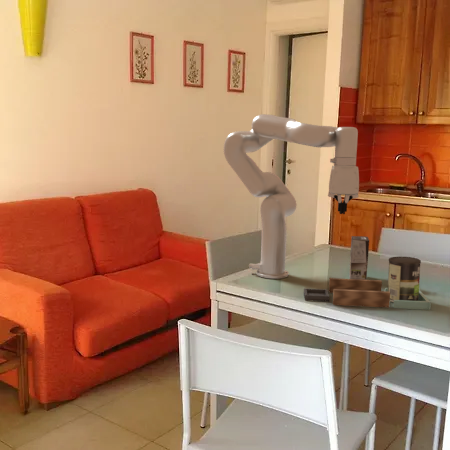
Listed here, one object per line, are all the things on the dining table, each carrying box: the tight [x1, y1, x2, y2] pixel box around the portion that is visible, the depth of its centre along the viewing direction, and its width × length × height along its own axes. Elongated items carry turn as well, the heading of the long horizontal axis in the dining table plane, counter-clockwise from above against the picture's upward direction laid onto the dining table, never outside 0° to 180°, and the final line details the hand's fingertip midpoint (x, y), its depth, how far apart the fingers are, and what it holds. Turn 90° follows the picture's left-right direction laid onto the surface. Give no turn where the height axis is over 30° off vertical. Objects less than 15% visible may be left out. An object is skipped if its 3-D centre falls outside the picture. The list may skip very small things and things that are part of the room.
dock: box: [384, 287, 431, 311], centre depth 185 cm, size 12×15×2 cm
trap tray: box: [303, 287, 330, 302], centre depth 188 cm, size 8×8×2 cm
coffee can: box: [387, 256, 422, 303], centre depth 185 cm, size 10×10×14 cm
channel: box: [328, 277, 391, 309], centre depth 186 cm, size 18×15×5 cm
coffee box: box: [348, 235, 370, 280], centre depth 211 cm, size 9×6×16 cm
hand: (342, 213), depth 197 cm, fingers closed
